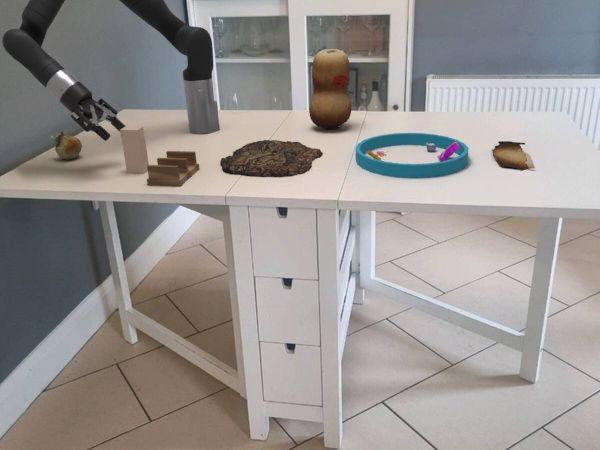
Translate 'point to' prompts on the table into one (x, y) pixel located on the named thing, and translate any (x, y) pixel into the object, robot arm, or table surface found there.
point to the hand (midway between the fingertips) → (116, 134)
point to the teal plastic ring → (412, 169)
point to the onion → (67, 146)
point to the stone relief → (270, 159)
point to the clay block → (134, 149)
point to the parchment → (512, 155)
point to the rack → (173, 169)
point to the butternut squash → (330, 89)
